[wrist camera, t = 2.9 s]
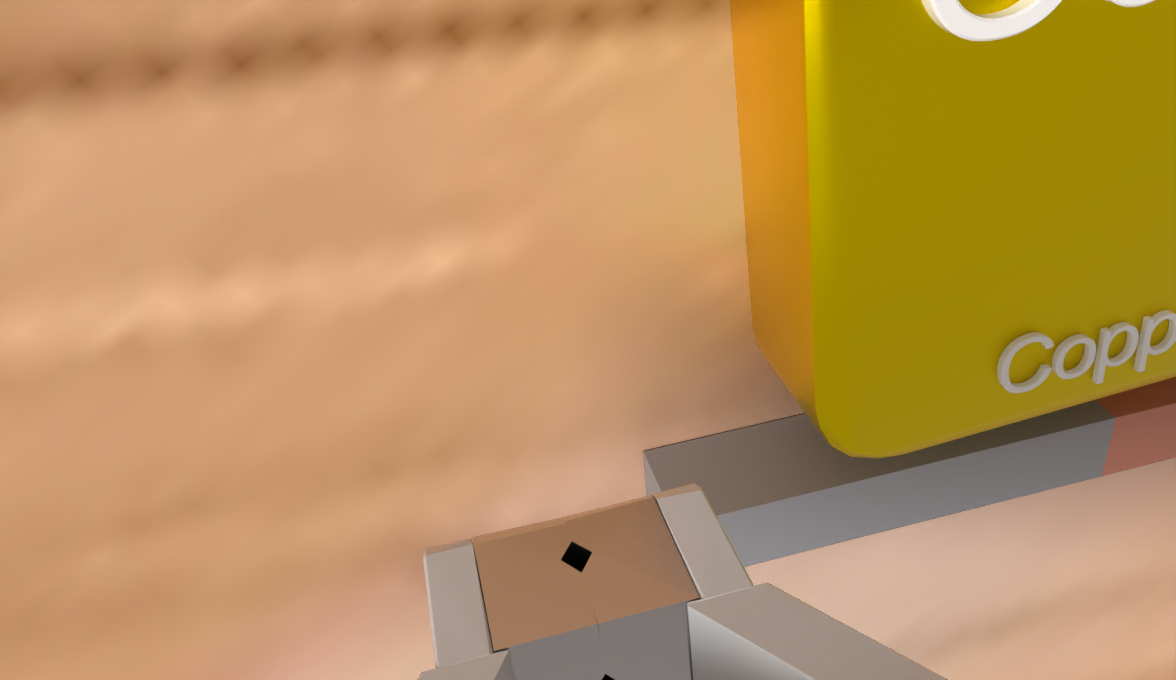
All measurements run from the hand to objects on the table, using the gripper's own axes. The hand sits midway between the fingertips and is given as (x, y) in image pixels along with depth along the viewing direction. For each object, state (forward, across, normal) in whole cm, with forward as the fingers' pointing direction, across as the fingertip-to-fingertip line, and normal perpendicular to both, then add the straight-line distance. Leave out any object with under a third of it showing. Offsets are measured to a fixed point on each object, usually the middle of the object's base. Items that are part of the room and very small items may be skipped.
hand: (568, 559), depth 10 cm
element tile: (+13, -14, 0) cm, 19 cm away
